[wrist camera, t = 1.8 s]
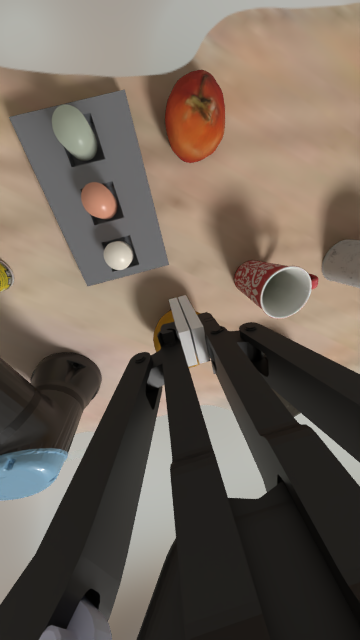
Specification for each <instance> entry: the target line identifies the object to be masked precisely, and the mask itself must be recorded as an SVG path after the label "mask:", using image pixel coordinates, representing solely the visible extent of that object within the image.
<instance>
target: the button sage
mask: <svg viewBox="0 0 360 640" xmlns="http://www.w3.org/2000/svg"><path fill="white" fill-rule="evenodd" d="M52 127H53V131H54V133H55V136H56V137H57V139H58V140H59V142H60V143H61V144H62V145H63V146H64V147H65V148H66V149H67V150H68V151H69V152H70V153H71V154H72V155H73V156H74V157H76V158H77V159H79V160H82V161H88V160H91V159H92V158H93V157H94V156H95V155H96V152H97V140H96V137H95V135H94V133H93V131H92V129H91V127H90V126H89V124H88V122H87V120H86V119H85V117H84V115H83V114H82V113H81V112H80V111H79V110H78V109H77V108H75V107H73V106H71V105H67V104H64V105H60V106H59V107H57V108H56V109H55V111H54V113H53V116H52Z"/></svg>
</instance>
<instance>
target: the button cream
mask: <svg viewBox="0 0 360 640" xmlns="http://www.w3.org/2000/svg"><path fill="white" fill-rule="evenodd" d="M104 259H105V262H106V263H107V264H108V266H110V267H111V268H113V269H115V270H123V269H125V268H127V267H128V266H129V265H130V263H131V262H132V260H133V250H132V248H131V247H130V245H129V244H127V243H126V242H123V241H116V242H112V243H110V244H108V245H107V246H106V248H105V250H104Z"/></svg>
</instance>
